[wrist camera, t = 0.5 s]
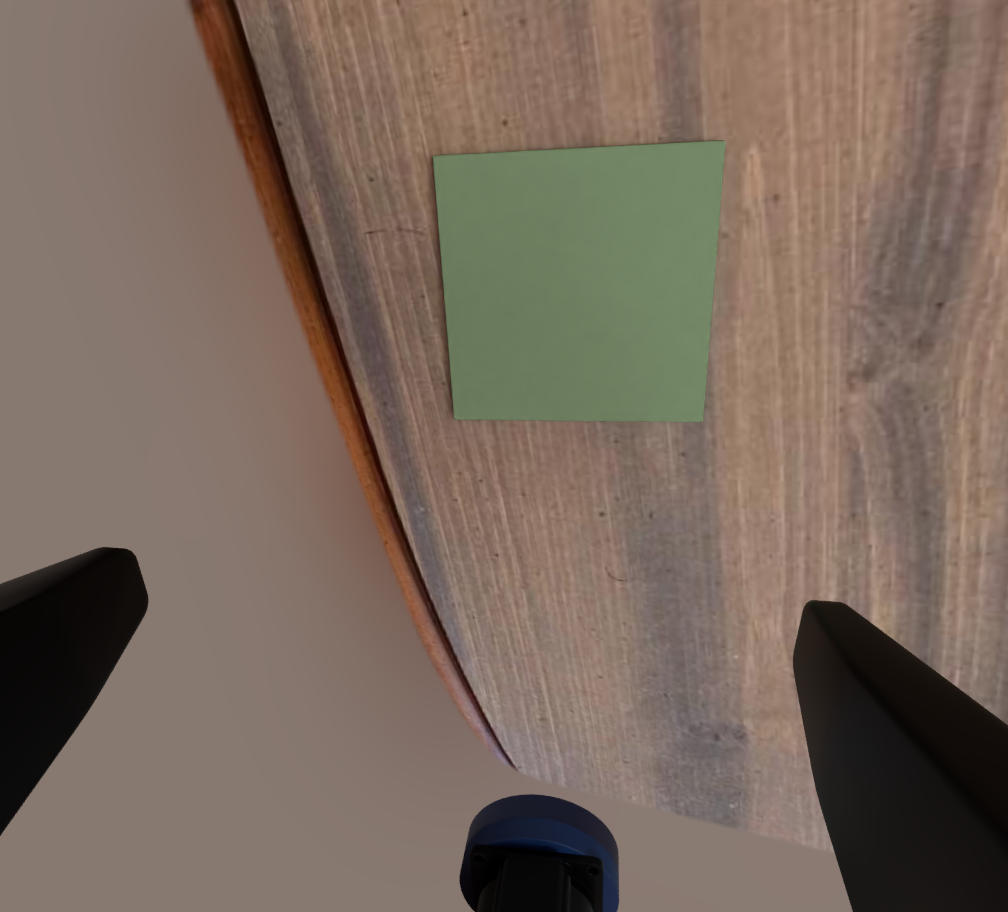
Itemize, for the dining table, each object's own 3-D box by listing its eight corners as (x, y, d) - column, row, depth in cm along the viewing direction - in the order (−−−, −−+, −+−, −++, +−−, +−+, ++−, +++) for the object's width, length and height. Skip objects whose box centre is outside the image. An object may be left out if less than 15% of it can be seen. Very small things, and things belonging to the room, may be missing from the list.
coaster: (701, 418, 21) (702, 422, 21) (456, 415, 22) (453, 420, 22) (723, 140, 18) (725, 140, 17) (435, 155, 19) (431, 155, 19)
